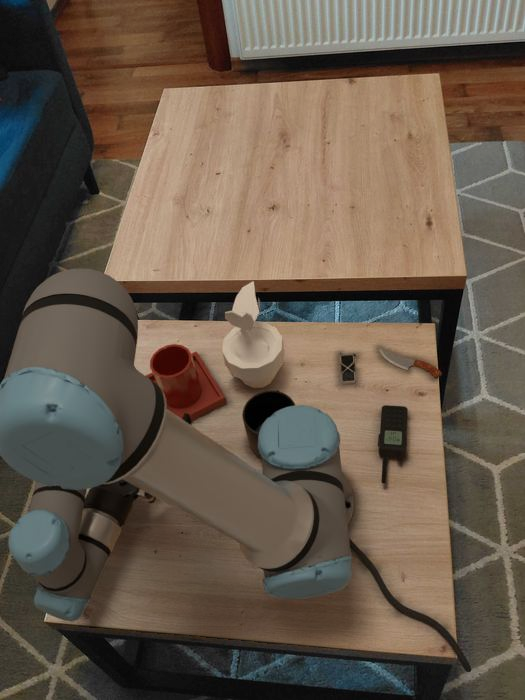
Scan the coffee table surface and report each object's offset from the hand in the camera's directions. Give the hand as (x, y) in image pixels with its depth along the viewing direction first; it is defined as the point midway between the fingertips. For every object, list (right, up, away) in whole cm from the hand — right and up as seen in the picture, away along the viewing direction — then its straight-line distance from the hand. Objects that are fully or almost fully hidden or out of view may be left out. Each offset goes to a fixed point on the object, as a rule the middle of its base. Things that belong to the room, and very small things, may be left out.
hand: (154, 410), depth 116 cm
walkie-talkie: (+43, 0, +2) cm, 43 cm away
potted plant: (+19, +6, +13) cm, 24 cm away
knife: (+47, +7, +8) cm, 48 cm away
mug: (+22, -5, +3) cm, 23 cm away
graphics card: (+34, +7, +10) cm, 37 cm away
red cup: (+4, +3, +11) cm, 12 cm away
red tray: (+4, +2, +12) cm, 13 cm away
